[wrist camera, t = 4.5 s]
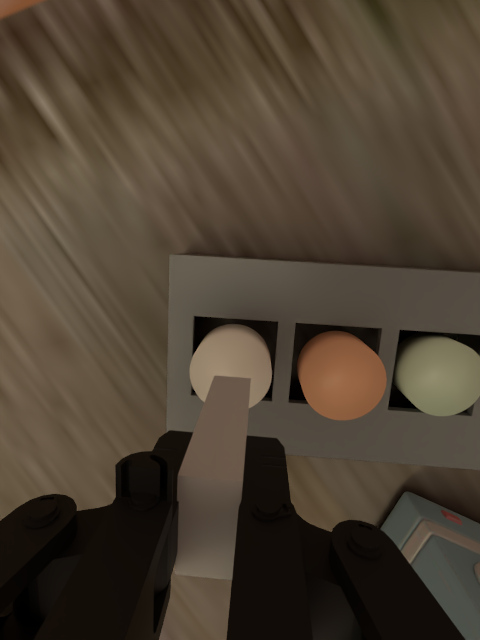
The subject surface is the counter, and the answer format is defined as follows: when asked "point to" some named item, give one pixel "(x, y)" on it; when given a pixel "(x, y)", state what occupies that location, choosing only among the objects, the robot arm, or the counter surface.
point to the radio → (441, 556)
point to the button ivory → (232, 360)
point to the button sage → (437, 373)
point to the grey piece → (328, 309)
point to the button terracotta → (340, 375)
